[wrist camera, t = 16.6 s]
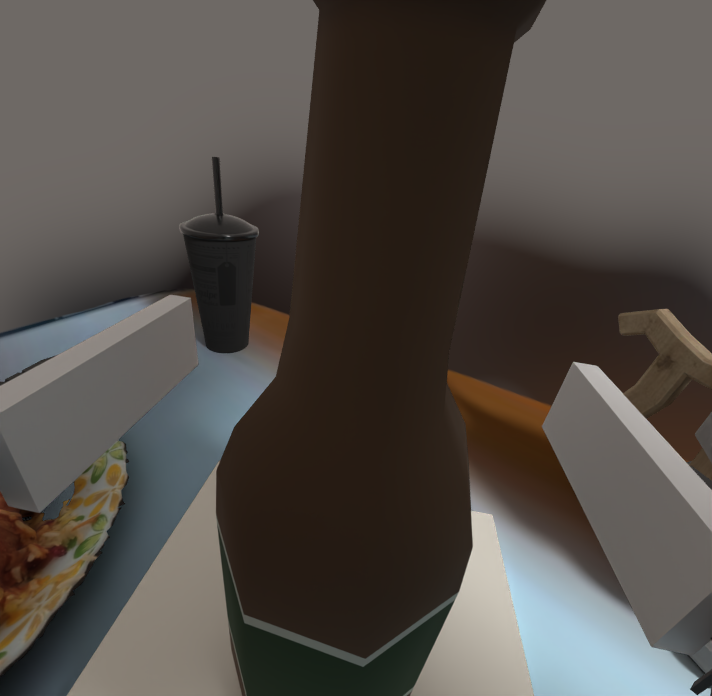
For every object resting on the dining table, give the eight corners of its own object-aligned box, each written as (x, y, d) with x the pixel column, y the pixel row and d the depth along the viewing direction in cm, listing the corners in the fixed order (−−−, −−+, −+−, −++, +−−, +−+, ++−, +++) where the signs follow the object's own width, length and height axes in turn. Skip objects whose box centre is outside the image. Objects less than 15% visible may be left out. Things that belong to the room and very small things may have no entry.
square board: (489, 522, 25) (492, 514, 25) (672, 1371, 7) (694, 1392, 7) (219, 468, 26) (219, 460, 26) (-165, 1078, 9) (-184, 1081, 8)
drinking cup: (272, 338, 45) (273, 163, 35) (234, 366, 38) (222, 160, 29) (222, 324, 47) (210, 154, 37) (178, 347, 40) (149, 149, 31)
